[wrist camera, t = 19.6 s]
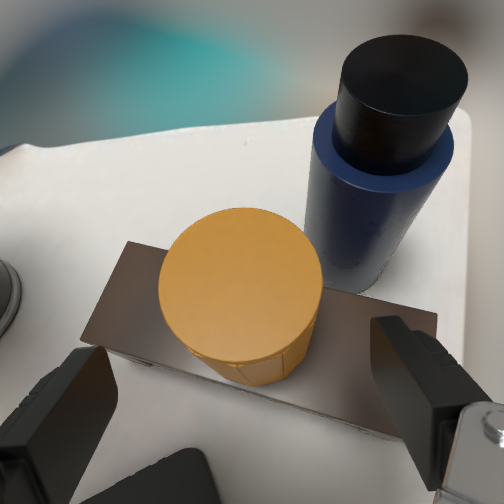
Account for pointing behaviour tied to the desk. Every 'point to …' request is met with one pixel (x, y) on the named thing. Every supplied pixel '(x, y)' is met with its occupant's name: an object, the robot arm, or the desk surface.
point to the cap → (243, 293)
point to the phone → (165, 483)
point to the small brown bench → (284, 391)
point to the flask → (379, 153)
